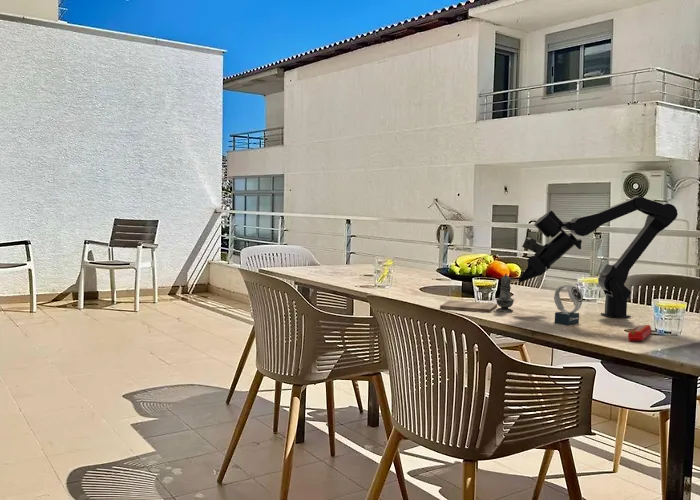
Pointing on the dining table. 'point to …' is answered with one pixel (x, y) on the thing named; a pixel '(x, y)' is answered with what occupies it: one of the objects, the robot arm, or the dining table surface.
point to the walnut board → (469, 306)
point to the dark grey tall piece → (505, 295)
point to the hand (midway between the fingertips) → (519, 281)
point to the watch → (564, 315)
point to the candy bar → (639, 333)
